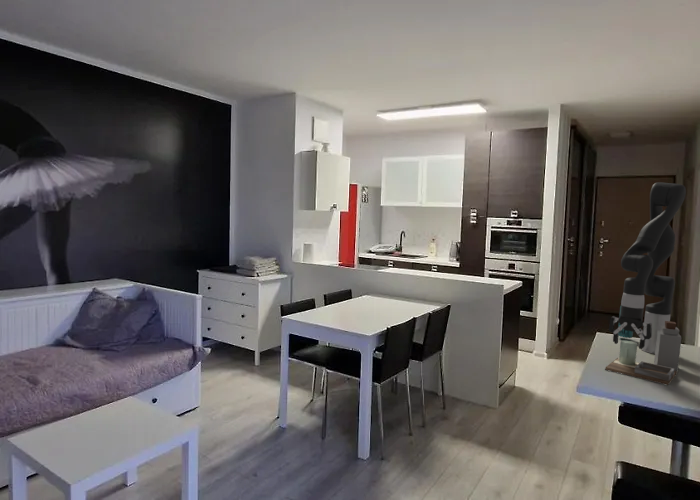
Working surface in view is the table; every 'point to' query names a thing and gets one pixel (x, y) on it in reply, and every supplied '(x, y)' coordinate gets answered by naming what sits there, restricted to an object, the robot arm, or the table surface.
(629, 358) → the pale green rounded piece
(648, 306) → the robot arm
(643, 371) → the wooden panel with label
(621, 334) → the beverage bottle
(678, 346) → the perfume bottle
